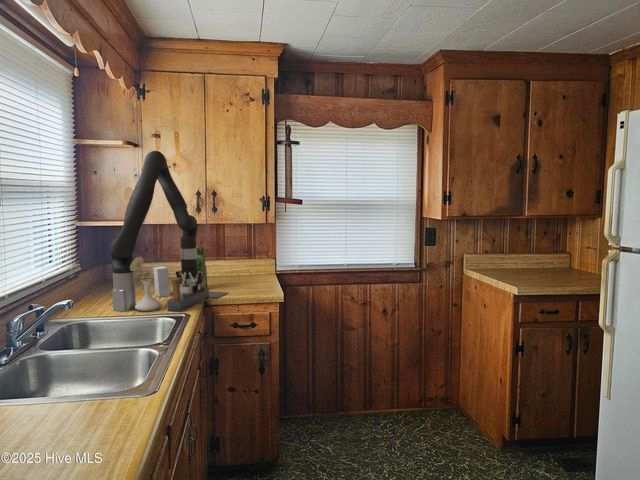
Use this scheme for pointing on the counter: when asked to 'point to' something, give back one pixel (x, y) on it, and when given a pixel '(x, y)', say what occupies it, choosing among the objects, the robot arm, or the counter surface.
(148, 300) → the flower in vase
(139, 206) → the robot arm
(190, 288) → the lever cap
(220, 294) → the rubber mat
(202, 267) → the green plant in glass
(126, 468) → the counter surface
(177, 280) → the hand plane
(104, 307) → the counter surface
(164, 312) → the counter surface
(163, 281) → the skincare box
